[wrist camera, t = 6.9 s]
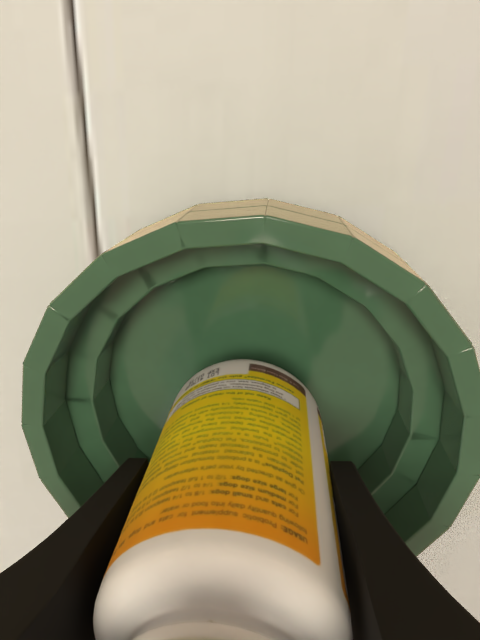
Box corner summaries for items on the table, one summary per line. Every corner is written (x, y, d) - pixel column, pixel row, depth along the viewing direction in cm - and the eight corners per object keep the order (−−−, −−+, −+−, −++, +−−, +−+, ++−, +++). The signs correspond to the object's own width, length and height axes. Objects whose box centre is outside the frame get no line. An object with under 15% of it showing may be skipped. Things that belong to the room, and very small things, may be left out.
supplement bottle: (146, 388, 16) (-41, 734, 7) (279, 327, 15) (277, 660, 5) (219, 492, 18) (151, 886, 8) (345, 447, 16) (431, 860, 7)
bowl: (172, 548, 23) (150, 631, 19) (5, 287, 18) (-72, 329, 14) (479, 474, 19) (528, 558, 15) (379, 123, 14) (415, 117, 10)
